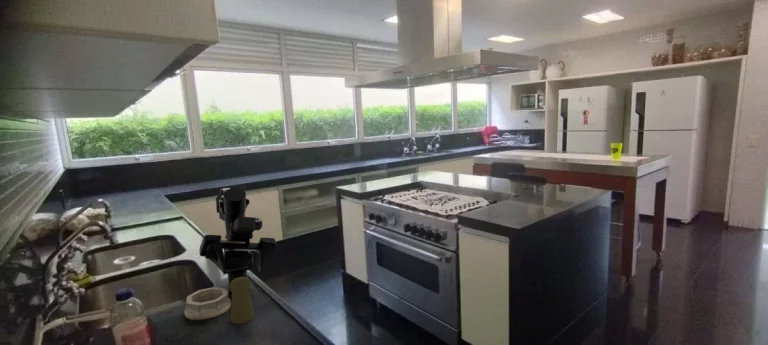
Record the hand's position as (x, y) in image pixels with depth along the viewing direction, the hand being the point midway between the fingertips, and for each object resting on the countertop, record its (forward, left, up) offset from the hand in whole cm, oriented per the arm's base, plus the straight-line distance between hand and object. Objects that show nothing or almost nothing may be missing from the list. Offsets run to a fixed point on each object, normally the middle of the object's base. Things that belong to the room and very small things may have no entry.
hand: (243, 271), depth 93 cm
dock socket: (-14, -9, -15) cm, 22 cm away
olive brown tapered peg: (-4, -1, -15) cm, 15 cm away
